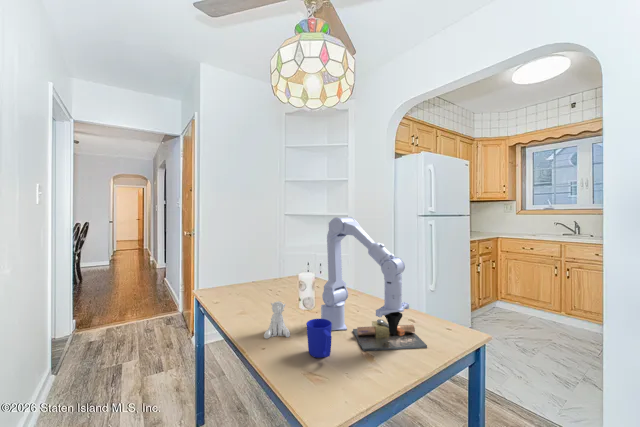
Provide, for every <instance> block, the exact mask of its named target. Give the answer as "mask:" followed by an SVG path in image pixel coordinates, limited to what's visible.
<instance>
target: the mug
mask: <svg viewBox="0 0 640 427" xmlns="http://www.w3.org/2000/svg"><path fill="white" fill-rule="evenodd" d="M305 326H306V334H307V348H308V353H309V355H310V356H311V357H313V358H316V359H317V358H329V357H330V355H331V351H332V337H333V336H332V330H331V328H332V323H331V322H330V321H329V320H326V319H321V318H313V319H310V320H308V321H307V322H306V325H305Z"/></svg>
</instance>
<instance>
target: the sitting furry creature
mask: <svg viewBox="0 0 640 427" xmlns="http://www.w3.org/2000/svg"><path fill="white" fill-rule="evenodd" d="M270 304H271V311H272V313H273V314H272V316H271V318H270V323H269V327H268V328H267V329H266V331H265V332H264V334H263V337H264V339H267V340H268V339H270V338H273V337H285V338H289V337H290V336H291V332H290V329H289V328H287V326H286V324H285V321H284V316H283V312H284V311H285V310H284V309H285V307H286V304H287V303H283V302H282V301H274V302H270Z"/></svg>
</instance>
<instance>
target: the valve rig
mask: <svg viewBox="0 0 640 427" xmlns="http://www.w3.org/2000/svg"><path fill="white" fill-rule="evenodd" d="M384 322H385V323H387V321H386V320H384ZM398 328H400V329H403V330H404V335H401V336H400V335H398V334H396V335H393V334H391V333H390V332H389V328H387V327H385V326H383V325H379V324H377V320H375V321H374V320H373V321H371V326H357V327H356V328H353V329H352V332H353V334H354V336H355V338H356V340H357V342H358V344H359V346H360V348H361V349H362V352H375V351H390V350H406V349H407V350H408V349H409V350H410V349H411V350H412V349H427V348H428V345H427V343H425V342H424V341H423V340H422V338H420V336H419V335H417V334H416V333H415V332H416V330H415V329H416V328H415V325H414V324H398Z"/></svg>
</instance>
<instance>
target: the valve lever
mask: <svg viewBox="0 0 640 427" xmlns="http://www.w3.org/2000/svg"><path fill="white" fill-rule="evenodd" d="M376 321H377V324H379V325H383V326H385V327H387V328H389V324H388V322H386V321H385V320H384V319H377V320H376ZM384 321H385V322H386V323H385V322H384ZM396 334H398V335H400V336H401V335H404V330H403V329H400V328H398V327H397V333H396Z"/></svg>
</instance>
